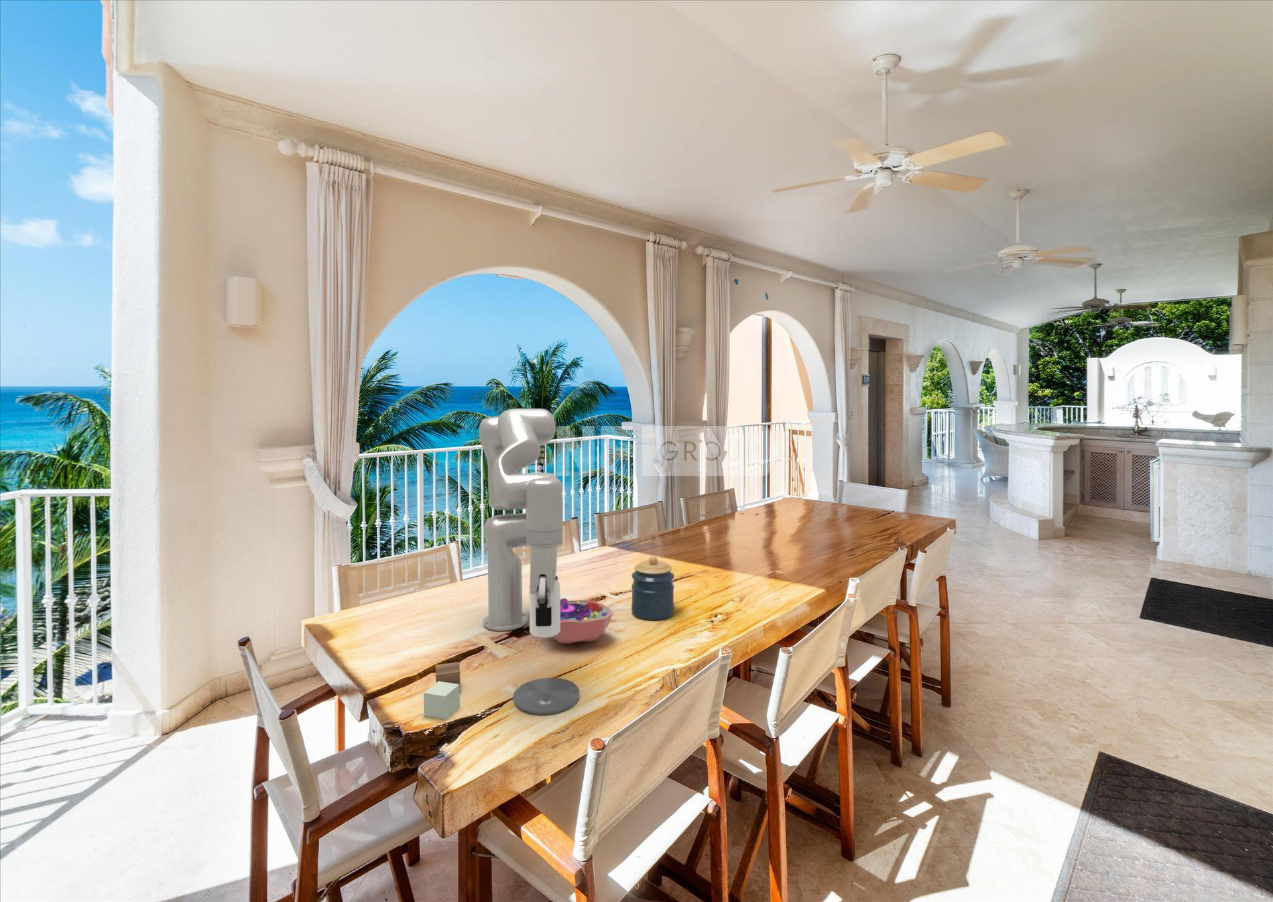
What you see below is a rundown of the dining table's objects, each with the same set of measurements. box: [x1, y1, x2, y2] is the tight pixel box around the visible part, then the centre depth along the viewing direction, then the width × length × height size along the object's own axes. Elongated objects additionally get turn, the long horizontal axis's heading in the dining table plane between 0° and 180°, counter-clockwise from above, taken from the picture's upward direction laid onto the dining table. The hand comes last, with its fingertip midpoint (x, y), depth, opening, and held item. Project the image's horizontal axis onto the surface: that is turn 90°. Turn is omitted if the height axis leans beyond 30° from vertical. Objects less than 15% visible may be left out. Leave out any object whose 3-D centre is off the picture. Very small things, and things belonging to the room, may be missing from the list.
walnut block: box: [435, 661, 461, 689], centre depth 125 cm, size 5×5×5 cm
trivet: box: [513, 677, 580, 716], centre depth 122 cm, size 14×14×1 cm
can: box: [528, 575, 561, 639], centre depth 121 cm, size 6×6×12 cm
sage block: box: [423, 681, 461, 721], centre depth 116 cm, size 5×5×5 cm
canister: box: [630, 555, 675, 621], centre depth 171 cm, size 13×13×18 cm
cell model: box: [552, 597, 614, 644], centre depth 151 cm, size 17×20×11 cm
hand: (545, 618), depth 121 cm, fingers closed on can, 6 cm apart
